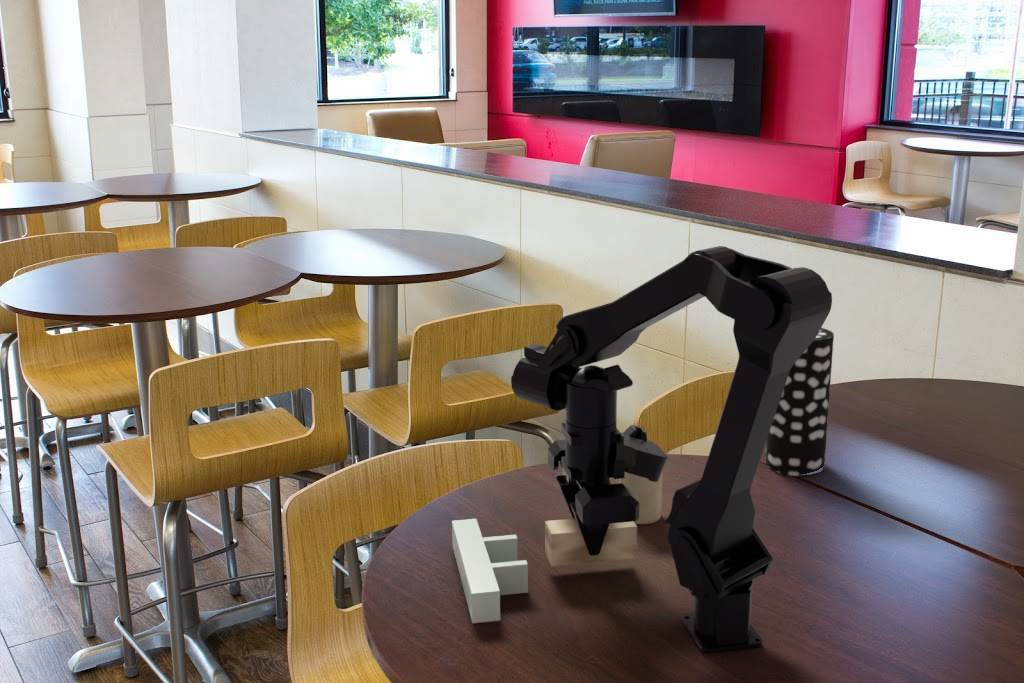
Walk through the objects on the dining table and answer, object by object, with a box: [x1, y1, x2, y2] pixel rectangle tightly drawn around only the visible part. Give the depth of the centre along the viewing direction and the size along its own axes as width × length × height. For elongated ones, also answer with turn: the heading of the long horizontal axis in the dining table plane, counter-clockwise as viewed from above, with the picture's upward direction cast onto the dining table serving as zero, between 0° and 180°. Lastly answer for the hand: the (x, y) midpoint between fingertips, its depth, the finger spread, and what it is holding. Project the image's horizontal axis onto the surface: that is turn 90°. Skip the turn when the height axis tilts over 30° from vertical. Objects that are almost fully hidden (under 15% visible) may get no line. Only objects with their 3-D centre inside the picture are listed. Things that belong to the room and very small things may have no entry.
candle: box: [618, 472, 663, 525], centre depth 131 cm, size 6×6×10 cm
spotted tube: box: [765, 327, 835, 477], centre depth 146 cm, size 8×8×20 cm
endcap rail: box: [451, 518, 529, 624], centre depth 117 cm, size 18×7×4 cm, turn 10°
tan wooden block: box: [544, 518, 638, 567], centre depth 118 cm, size 10×4×4 cm, turn 100°
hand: (590, 547), depth 118 cm, fingers closed on tan wooden block, 3 cm apart
